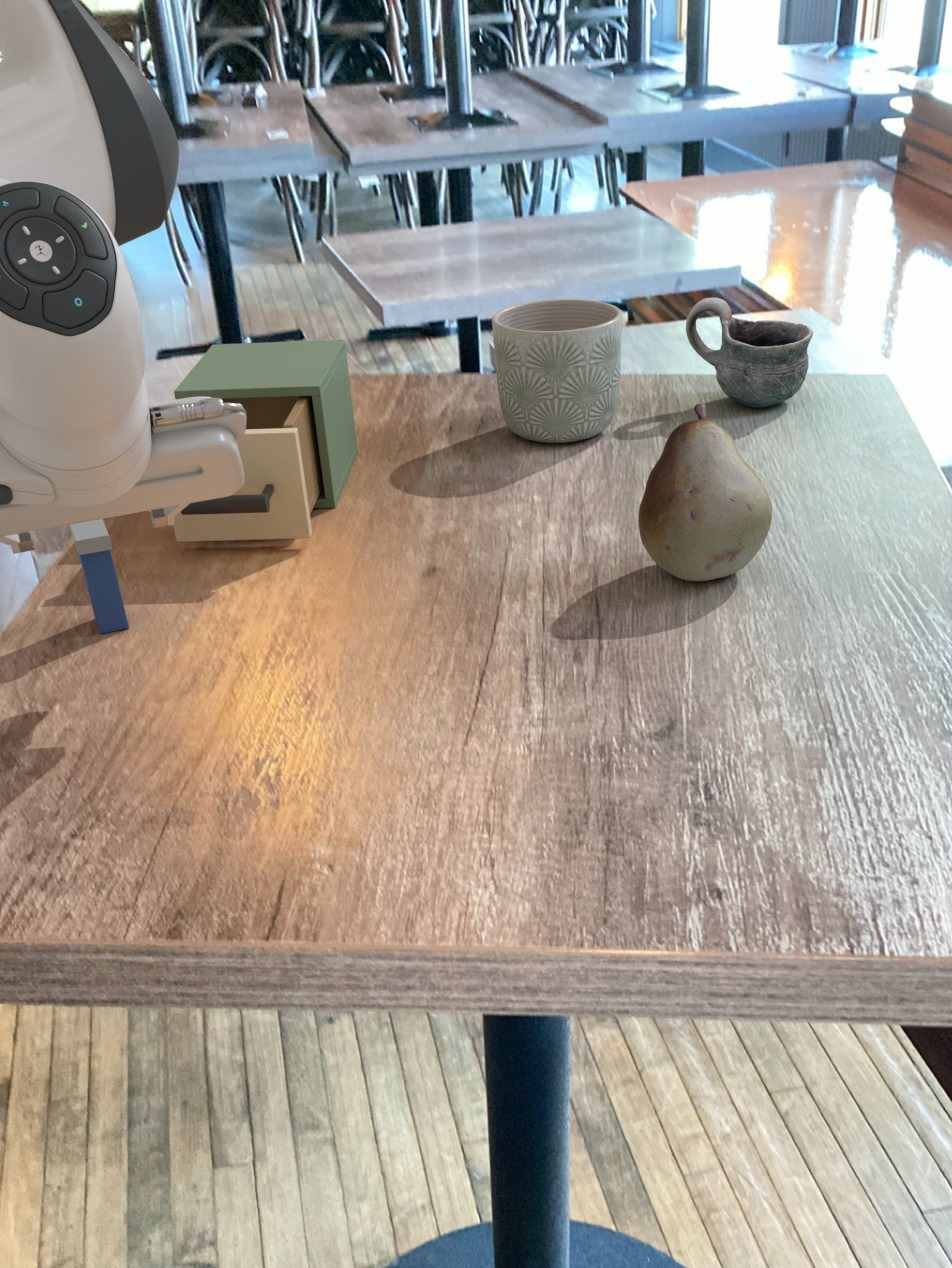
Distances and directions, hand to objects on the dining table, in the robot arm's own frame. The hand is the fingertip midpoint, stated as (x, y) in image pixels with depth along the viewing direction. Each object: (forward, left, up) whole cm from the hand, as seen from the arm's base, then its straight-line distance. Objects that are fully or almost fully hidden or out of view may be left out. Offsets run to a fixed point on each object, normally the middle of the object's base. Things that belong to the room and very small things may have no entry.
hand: (92, 529), depth 91 cm
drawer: (+5, +24, -9) cm, 26 cm away
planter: (+31, +48, -10) cm, 58 cm away
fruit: (+43, +13, -10) cm, 46 cm away
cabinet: (+5, +36, -10) cm, 37 cm away
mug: (+50, +55, -10) cm, 75 cm away
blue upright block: (-3, +6, -10) cm, 11 cm away
